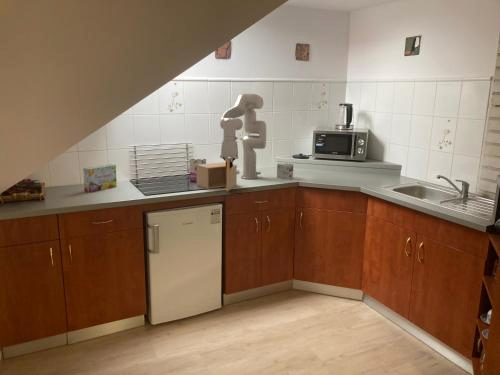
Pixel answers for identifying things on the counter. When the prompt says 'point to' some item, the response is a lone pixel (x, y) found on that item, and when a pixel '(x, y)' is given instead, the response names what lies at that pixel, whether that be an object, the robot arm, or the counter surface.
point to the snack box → (99, 178)
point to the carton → (212, 175)
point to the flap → (231, 175)
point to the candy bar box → (195, 167)
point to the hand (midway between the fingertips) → (229, 167)
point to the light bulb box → (285, 170)
